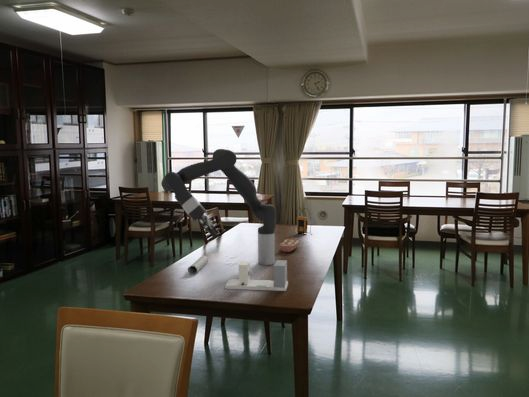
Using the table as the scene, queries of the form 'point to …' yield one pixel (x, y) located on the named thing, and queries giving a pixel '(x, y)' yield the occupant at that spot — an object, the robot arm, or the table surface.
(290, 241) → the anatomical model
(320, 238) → the table surface
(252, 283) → the base
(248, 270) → the block
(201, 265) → the tube
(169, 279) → the table surface
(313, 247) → the table surface
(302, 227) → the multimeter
